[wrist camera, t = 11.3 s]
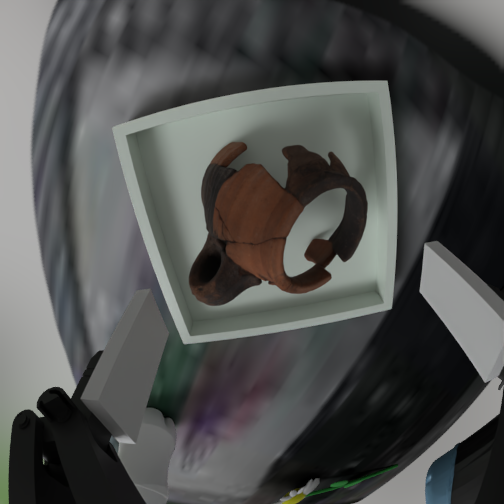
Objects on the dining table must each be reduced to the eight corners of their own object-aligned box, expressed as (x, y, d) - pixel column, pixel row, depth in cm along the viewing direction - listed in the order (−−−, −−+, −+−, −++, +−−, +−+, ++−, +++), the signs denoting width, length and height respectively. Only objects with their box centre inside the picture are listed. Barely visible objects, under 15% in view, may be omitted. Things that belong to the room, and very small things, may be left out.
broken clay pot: (249, 99, 18) (342, 120, 12) (315, 179, 25) (392, 221, 19) (135, 241, 19) (174, 325, 13) (225, 288, 25) (280, 356, 20)
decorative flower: (403, 444, 46) (261, 484, 42) (411, 462, 42) (266, 505, 38) (382, 464, 52) (260, 497, 48) (389, 480, 48) (263, 515, 44)
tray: (372, 83, 17) (387, 80, 15) (381, 292, 25) (391, 308, 23) (126, 125, 18) (112, 127, 16) (188, 325, 26) (184, 344, 24)
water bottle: (165, 435, 36) (144, 587, 13) (120, 414, 34) (83, 572, 11) (188, 418, 33) (171, 597, 11) (137, 394, 31) (97, 582, 9)
